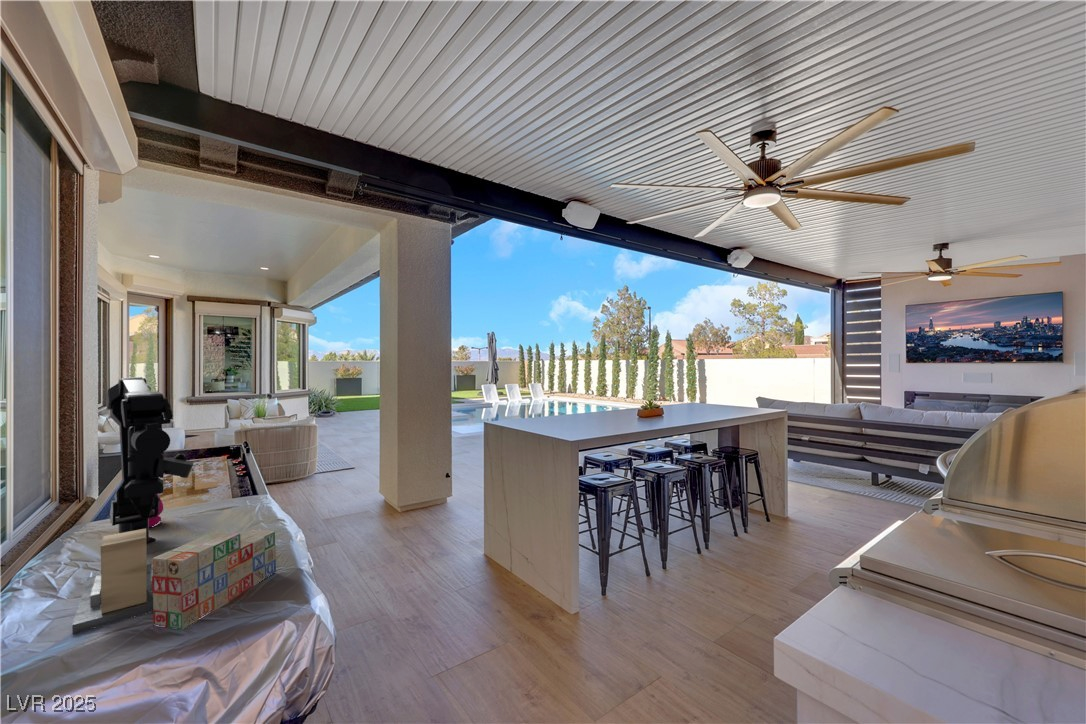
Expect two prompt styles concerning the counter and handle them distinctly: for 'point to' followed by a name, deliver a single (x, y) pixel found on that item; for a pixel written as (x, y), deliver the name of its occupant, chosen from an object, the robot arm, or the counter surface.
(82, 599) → the chute
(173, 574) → the stack of blocks
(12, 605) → the counter surface
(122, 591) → the oak block
